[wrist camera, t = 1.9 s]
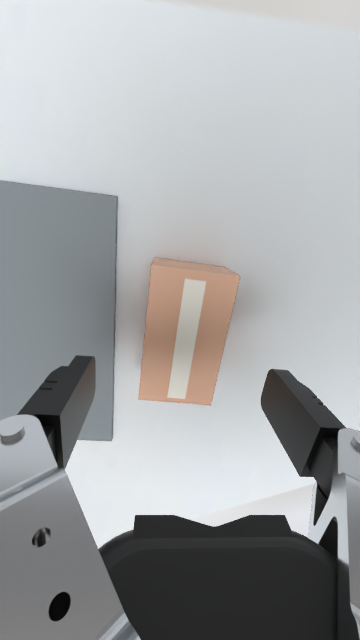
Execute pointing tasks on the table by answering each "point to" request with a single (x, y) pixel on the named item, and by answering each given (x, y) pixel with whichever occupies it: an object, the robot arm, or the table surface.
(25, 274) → the mat
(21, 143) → the table surface
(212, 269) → the box
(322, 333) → the table surface
